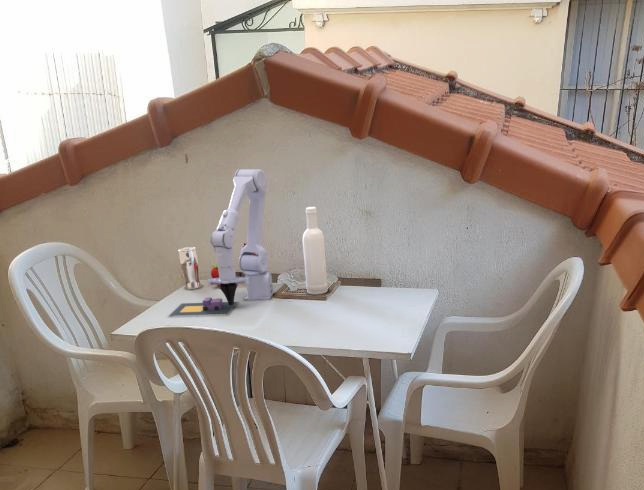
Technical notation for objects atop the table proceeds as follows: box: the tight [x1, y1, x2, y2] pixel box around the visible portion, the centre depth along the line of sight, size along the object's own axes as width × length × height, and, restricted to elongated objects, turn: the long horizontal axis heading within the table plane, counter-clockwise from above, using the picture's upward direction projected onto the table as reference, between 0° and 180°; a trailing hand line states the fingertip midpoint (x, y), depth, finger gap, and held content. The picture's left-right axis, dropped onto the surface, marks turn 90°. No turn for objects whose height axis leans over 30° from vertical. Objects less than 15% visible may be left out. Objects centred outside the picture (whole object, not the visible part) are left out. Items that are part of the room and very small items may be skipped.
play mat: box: [169, 301, 238, 317], centre depth 247 cm, size 21×14×1 cm, turn 82°
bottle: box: [302, 206, 329, 295], centre depth 250 cm, size 8×8×30 cm
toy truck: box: [202, 297, 224, 311], centre depth 246 cm, size 6×5×3 cm
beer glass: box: [178, 246, 202, 290], centre depth 272 cm, size 7×7×15 cm
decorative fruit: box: [210, 263, 221, 287], centre depth 271 cm, size 6×8×10 cm
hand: (231, 304), depth 245 cm, fingers closed
